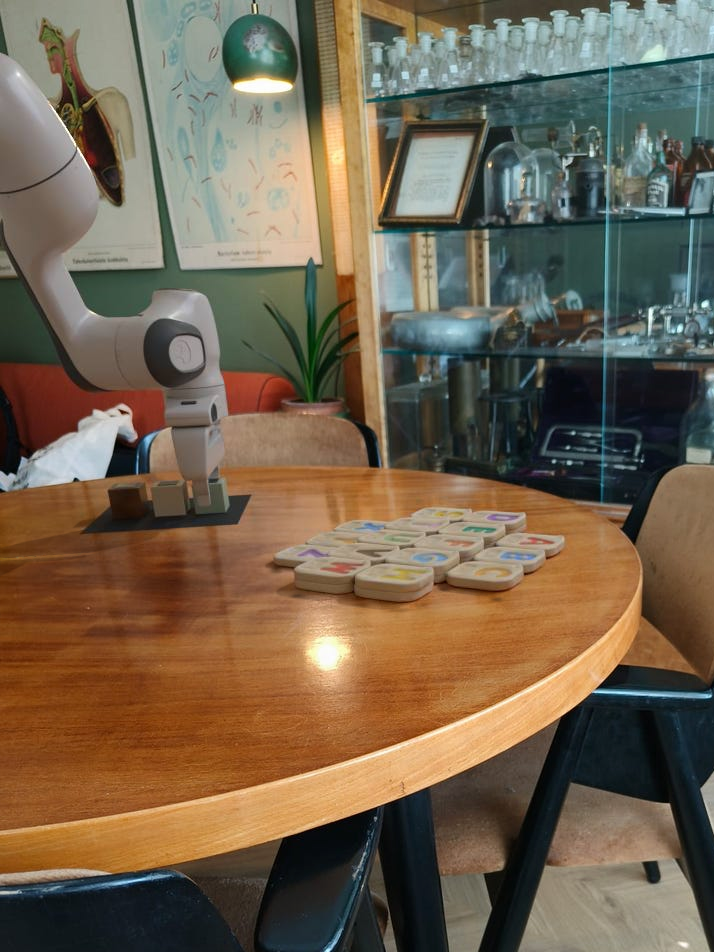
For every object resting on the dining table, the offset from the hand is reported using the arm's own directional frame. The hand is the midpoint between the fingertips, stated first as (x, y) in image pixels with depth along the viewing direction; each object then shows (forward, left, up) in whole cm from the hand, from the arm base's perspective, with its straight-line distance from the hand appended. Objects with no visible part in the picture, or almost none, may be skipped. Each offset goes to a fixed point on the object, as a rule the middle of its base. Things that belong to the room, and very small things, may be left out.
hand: (209, 498), depth 136 cm
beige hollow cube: (-6, 0, -2) cm, 6 cm away
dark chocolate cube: (-12, 0, -2) cm, 12 cm away
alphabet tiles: (+30, -31, -2) cm, 43 cm away
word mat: (-6, 0, -2) cm, 6 cm away
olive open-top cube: (0, 0, -2) cm, 2 cm away
